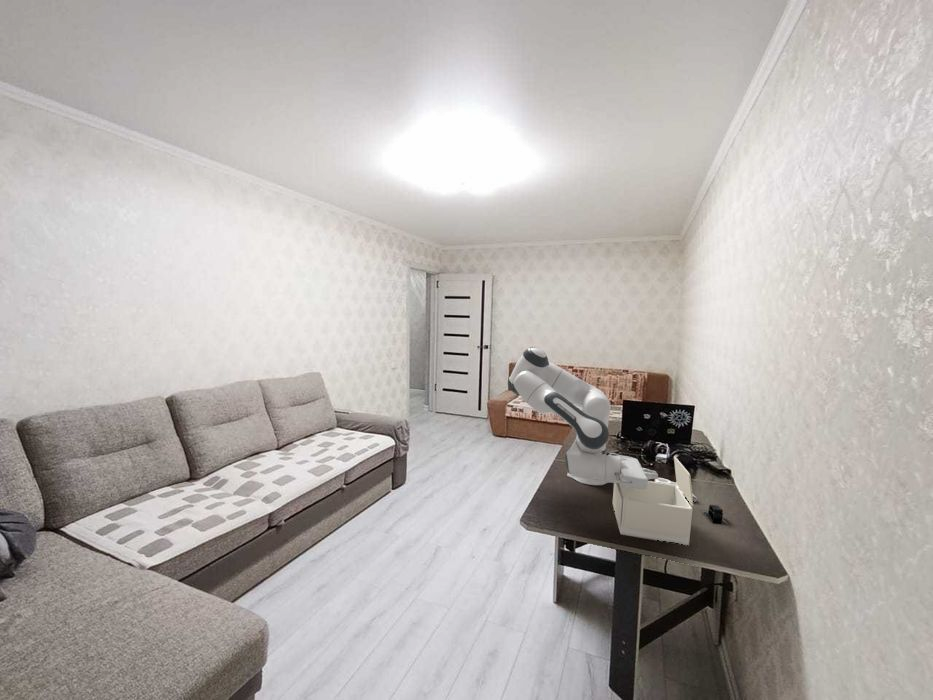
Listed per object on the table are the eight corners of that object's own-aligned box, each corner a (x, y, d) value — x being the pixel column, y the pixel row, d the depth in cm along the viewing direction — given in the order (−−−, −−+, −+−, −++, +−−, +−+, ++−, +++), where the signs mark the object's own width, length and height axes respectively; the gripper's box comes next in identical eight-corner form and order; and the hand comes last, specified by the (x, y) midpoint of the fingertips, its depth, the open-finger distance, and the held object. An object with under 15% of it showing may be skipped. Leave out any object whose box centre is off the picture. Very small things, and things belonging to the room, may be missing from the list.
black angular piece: (697, 509, 148) (698, 498, 147) (718, 512, 147) (719, 500, 146) (712, 527, 136) (713, 514, 135) (735, 529, 134) (736, 517, 134)
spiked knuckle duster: (699, 507, 150) (659, 502, 152) (682, 487, 167) (645, 483, 170) (700, 498, 149) (659, 494, 152) (682, 480, 167) (646, 476, 170)
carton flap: (673, 456, 138) (675, 456, 138) (676, 484, 138) (677, 484, 138) (688, 474, 121) (690, 474, 121) (692, 506, 121) (693, 506, 121)
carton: (611, 507, 145) (614, 476, 144) (672, 517, 140) (675, 484, 139) (618, 535, 126) (621, 499, 125) (689, 546, 121) (693, 509, 120)
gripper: (618, 471, 124) (665, 477, 121) (610, 451, 144) (651, 456, 141) (616, 490, 125) (663, 497, 121) (609, 467, 145) (650, 473, 141)
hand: (657, 475), depth 131 cm, fingers closed
